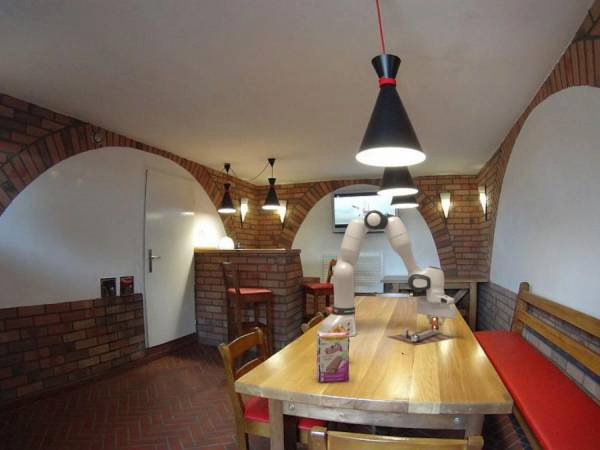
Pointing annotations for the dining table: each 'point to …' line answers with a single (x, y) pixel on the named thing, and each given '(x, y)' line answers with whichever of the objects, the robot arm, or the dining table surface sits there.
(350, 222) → the robot arm
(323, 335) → the candy bar box
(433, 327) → the lever
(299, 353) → the dining table surface
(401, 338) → the nutcracker base
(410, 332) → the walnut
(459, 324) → the dining table surface
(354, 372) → the dining table surface
